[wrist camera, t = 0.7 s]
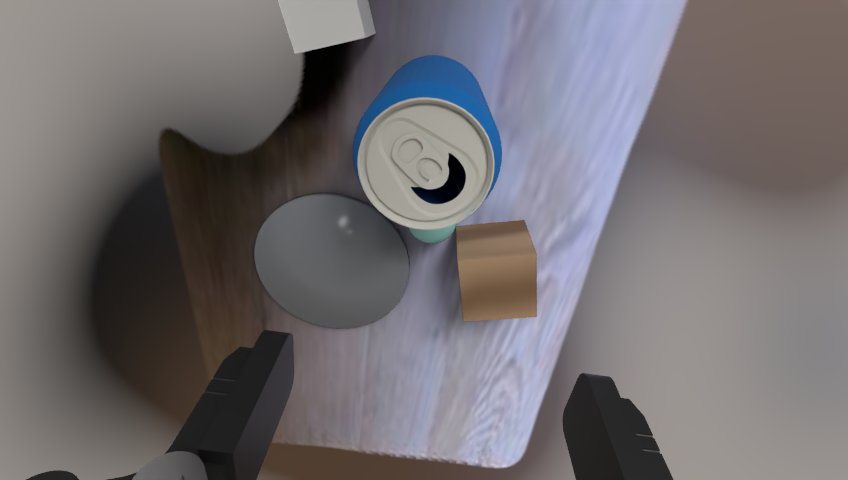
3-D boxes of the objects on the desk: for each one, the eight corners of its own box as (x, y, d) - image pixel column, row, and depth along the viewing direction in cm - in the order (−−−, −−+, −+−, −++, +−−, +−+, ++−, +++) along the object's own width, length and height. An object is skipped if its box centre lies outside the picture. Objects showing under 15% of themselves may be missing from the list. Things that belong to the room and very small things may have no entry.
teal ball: (411, 181, 31) (407, 201, 28) (460, 188, 31) (462, 209, 28) (405, 225, 32) (401, 248, 29) (452, 232, 33) (452, 255, 29)
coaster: (253, 181, 31) (250, 184, 31) (419, 205, 32) (418, 209, 31) (260, 313, 37) (257, 317, 36) (400, 332, 37) (399, 337, 37)
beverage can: (431, 174, 30) (422, 264, 20) (363, 105, 28) (314, 164, 18) (504, 110, 28) (538, 173, 18) (435, 30, 26) (429, 47, 16)
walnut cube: (455, 225, 32) (457, 260, 28) (524, 219, 32) (536, 253, 28) (461, 281, 35) (463, 321, 30) (525, 276, 34) (536, 316, 30)
